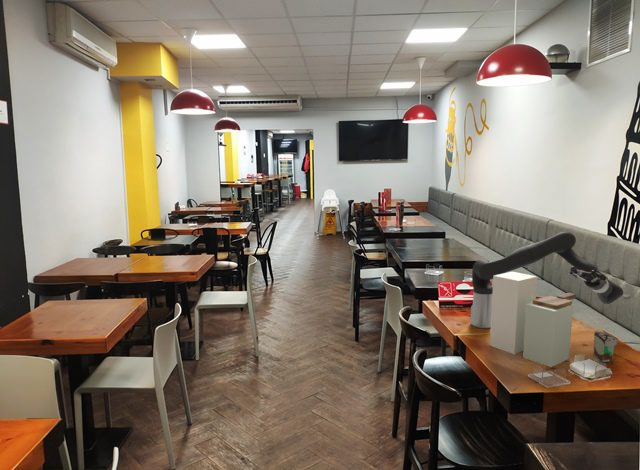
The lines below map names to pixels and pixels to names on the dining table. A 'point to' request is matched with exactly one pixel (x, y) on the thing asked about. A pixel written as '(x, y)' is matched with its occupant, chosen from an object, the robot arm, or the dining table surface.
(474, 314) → the robot arm
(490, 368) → the dining table surface
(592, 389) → the dining table surface
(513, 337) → the tall stand
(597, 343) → the food container
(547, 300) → the serving paddle
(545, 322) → the low stand
